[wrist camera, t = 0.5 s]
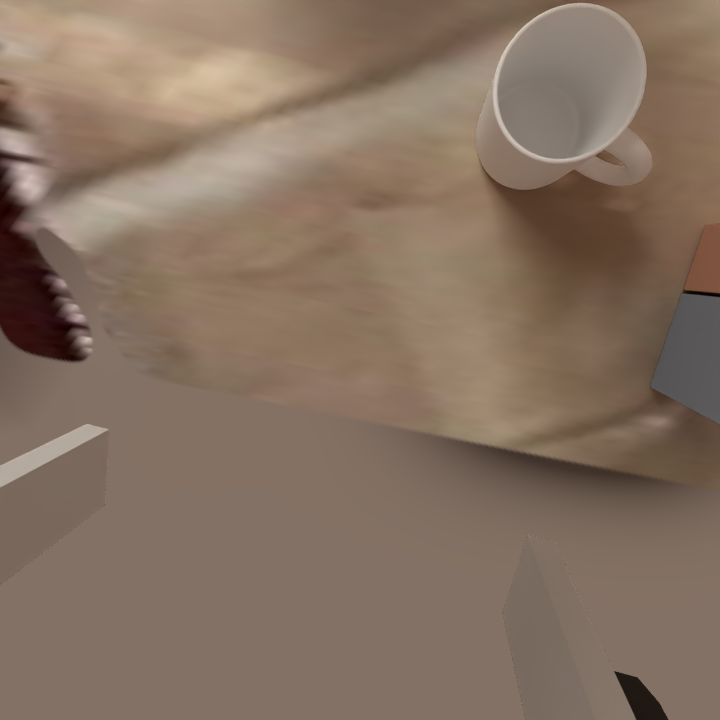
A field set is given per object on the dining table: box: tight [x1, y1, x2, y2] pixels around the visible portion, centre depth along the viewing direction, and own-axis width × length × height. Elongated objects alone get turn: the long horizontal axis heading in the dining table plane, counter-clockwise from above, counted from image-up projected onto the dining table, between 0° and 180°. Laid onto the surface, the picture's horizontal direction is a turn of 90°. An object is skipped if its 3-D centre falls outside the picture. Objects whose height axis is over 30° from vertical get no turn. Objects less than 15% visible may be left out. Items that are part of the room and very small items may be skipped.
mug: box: [476, 3, 652, 190], centre depth 30 cm, size 12×8×10 cm
